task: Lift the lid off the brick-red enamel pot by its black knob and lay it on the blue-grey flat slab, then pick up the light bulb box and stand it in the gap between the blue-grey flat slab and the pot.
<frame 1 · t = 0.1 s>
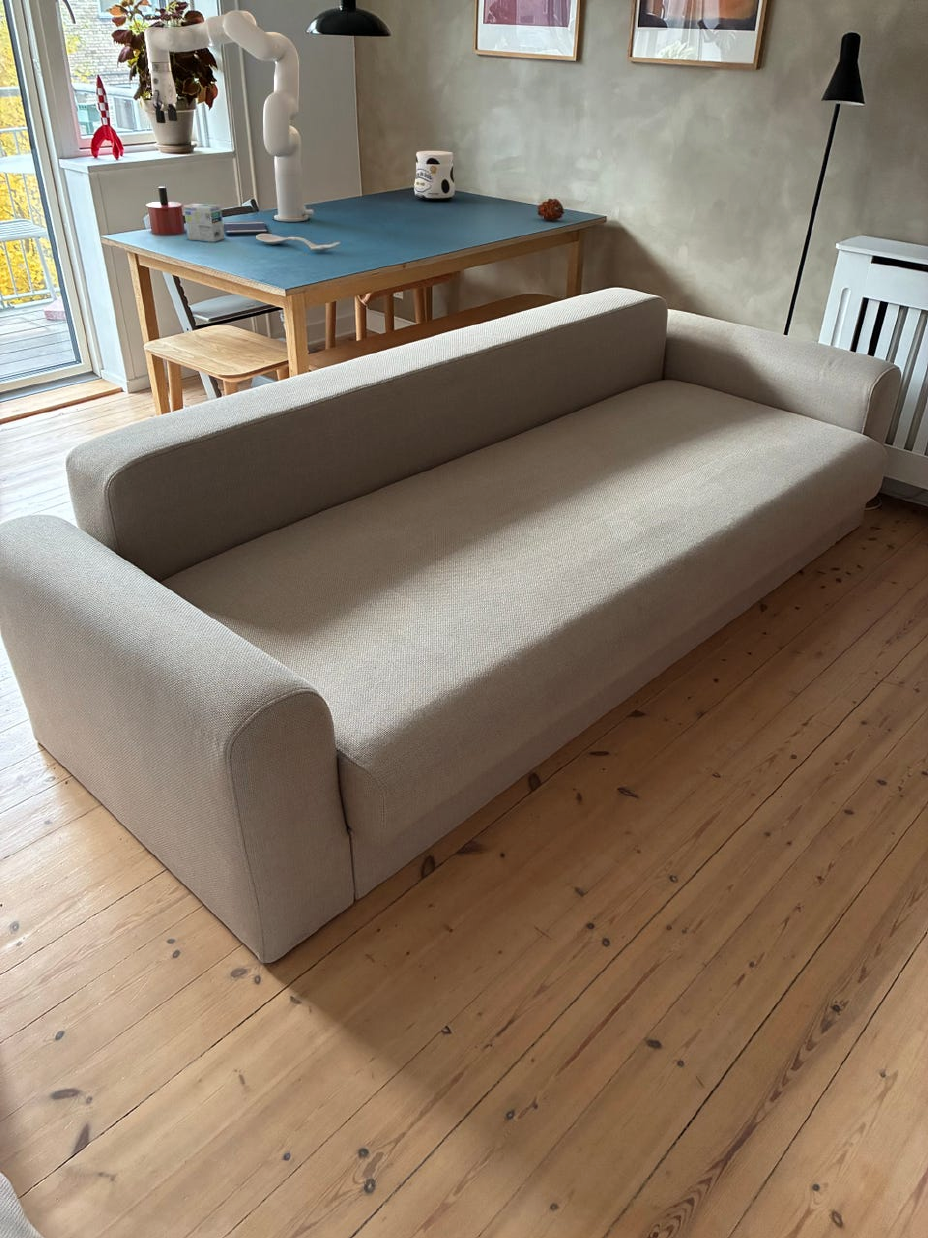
hand: (167, 121, 346), 31 cm above the table, tool pointing down, fingers open, 9 cm apart
milk container: (434, 199, 402), on the table
pot: (168, 232, 331), on the table
blue-grey flat slab: (245, 229, 337), on the table
pot lid: (164, 205, 327), point 8 cm above the table, touching pot
light bulb box: (206, 239, 322), on the table
spoon: (295, 248, 312), on the table
red-brown bumpy ovoid: (549, 220, 365), on the table
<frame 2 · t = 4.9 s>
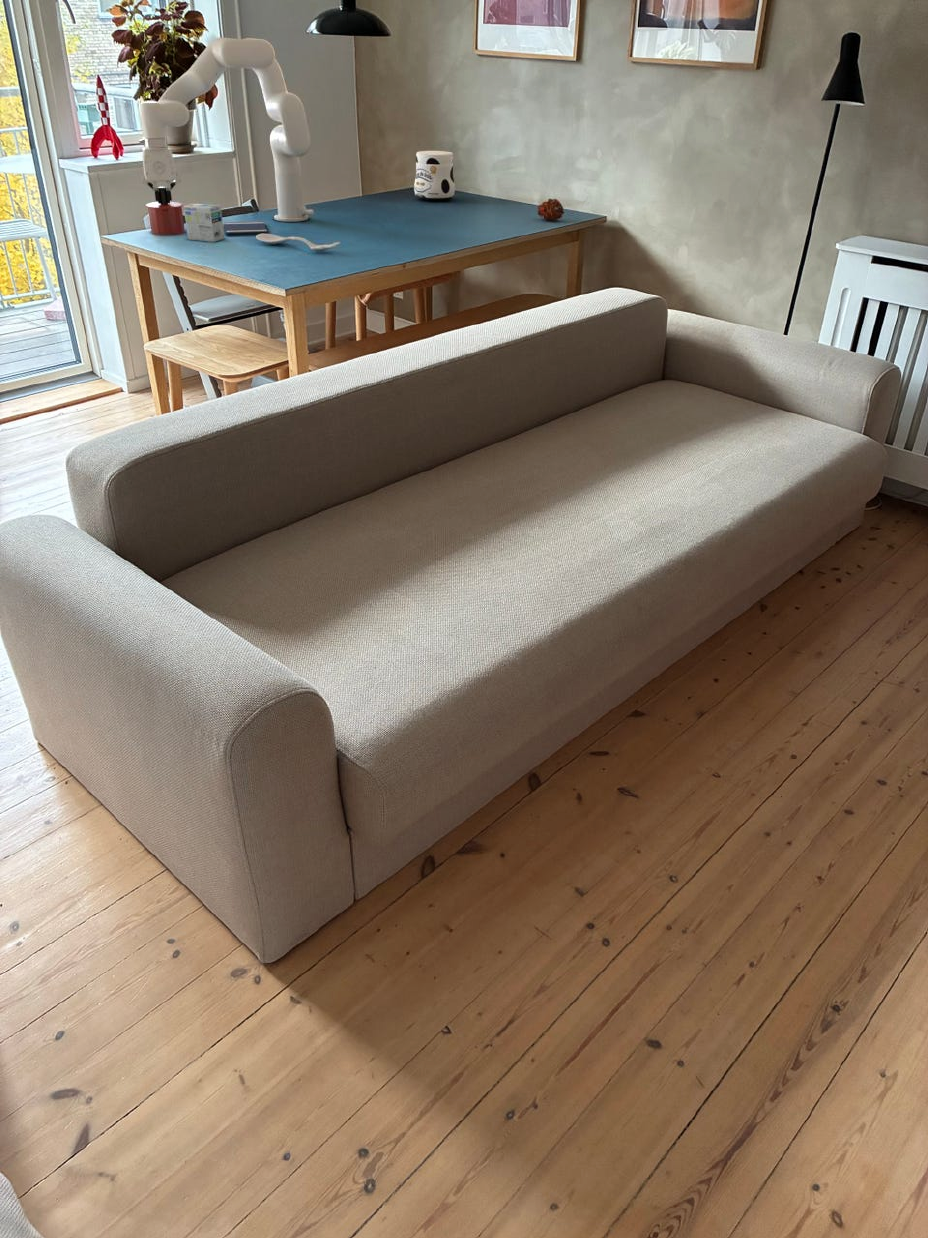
hand: (164, 202, 326), 10 cm above the table, tool pointing down, fingers closed on pot lid, 2 cm apart
pot lid: (164, 205, 327), point 9 cm above the table, touching gripper, pot
everything else where it was.
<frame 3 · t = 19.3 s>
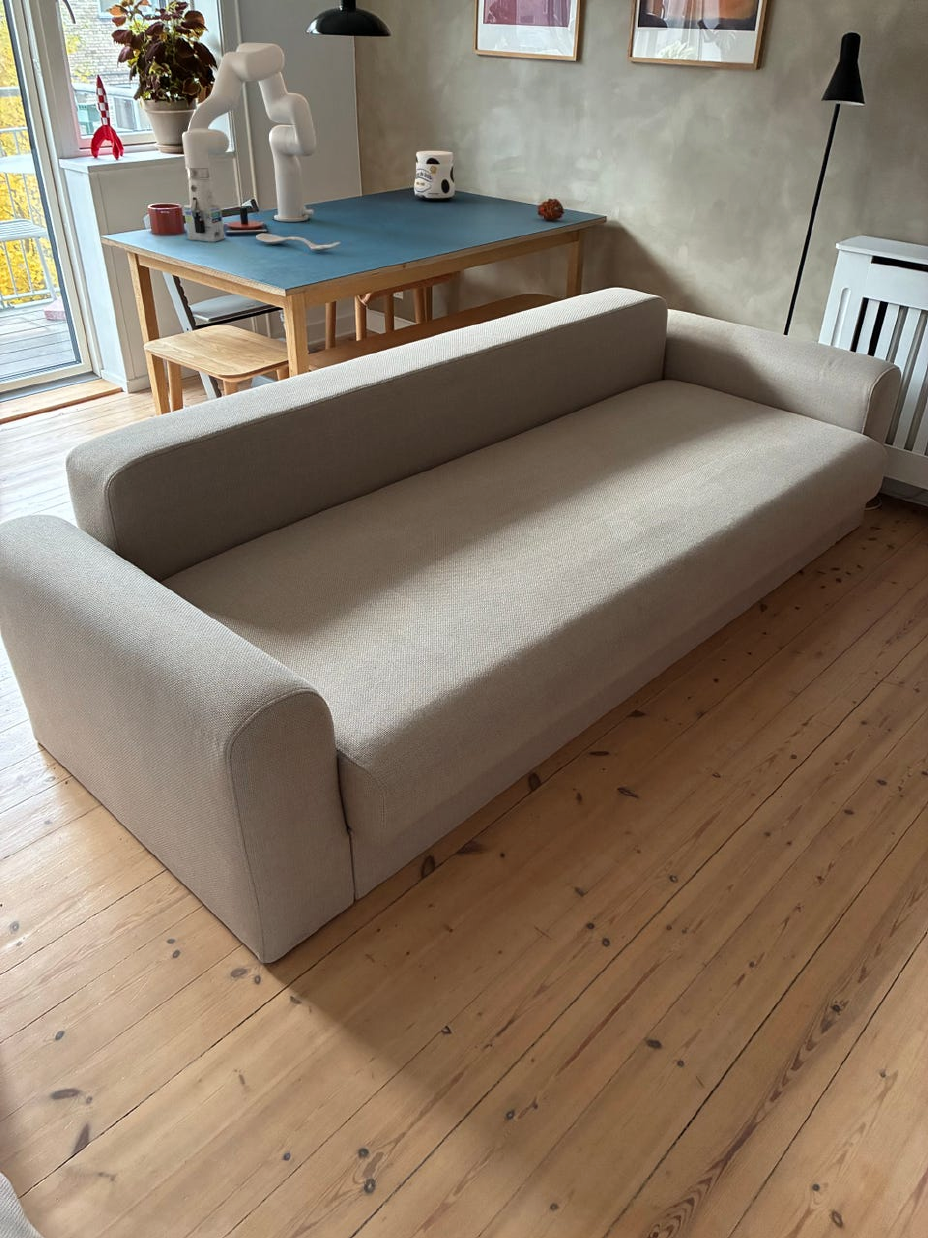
hand: (205, 230, 320), 3 cm above the table, tool pointing down, fingers closed on light bulb box, 7 cm apart
pot lid: (244, 225, 336), point 2 cm above the table, touching blue-grey flat slab
light bulb box: (206, 239, 322), on the table, touching gripper
everything else where it was.
when the fingers open (3 cm above the table, at t = 26.8 s): light bulb box stays where it is, on the table.
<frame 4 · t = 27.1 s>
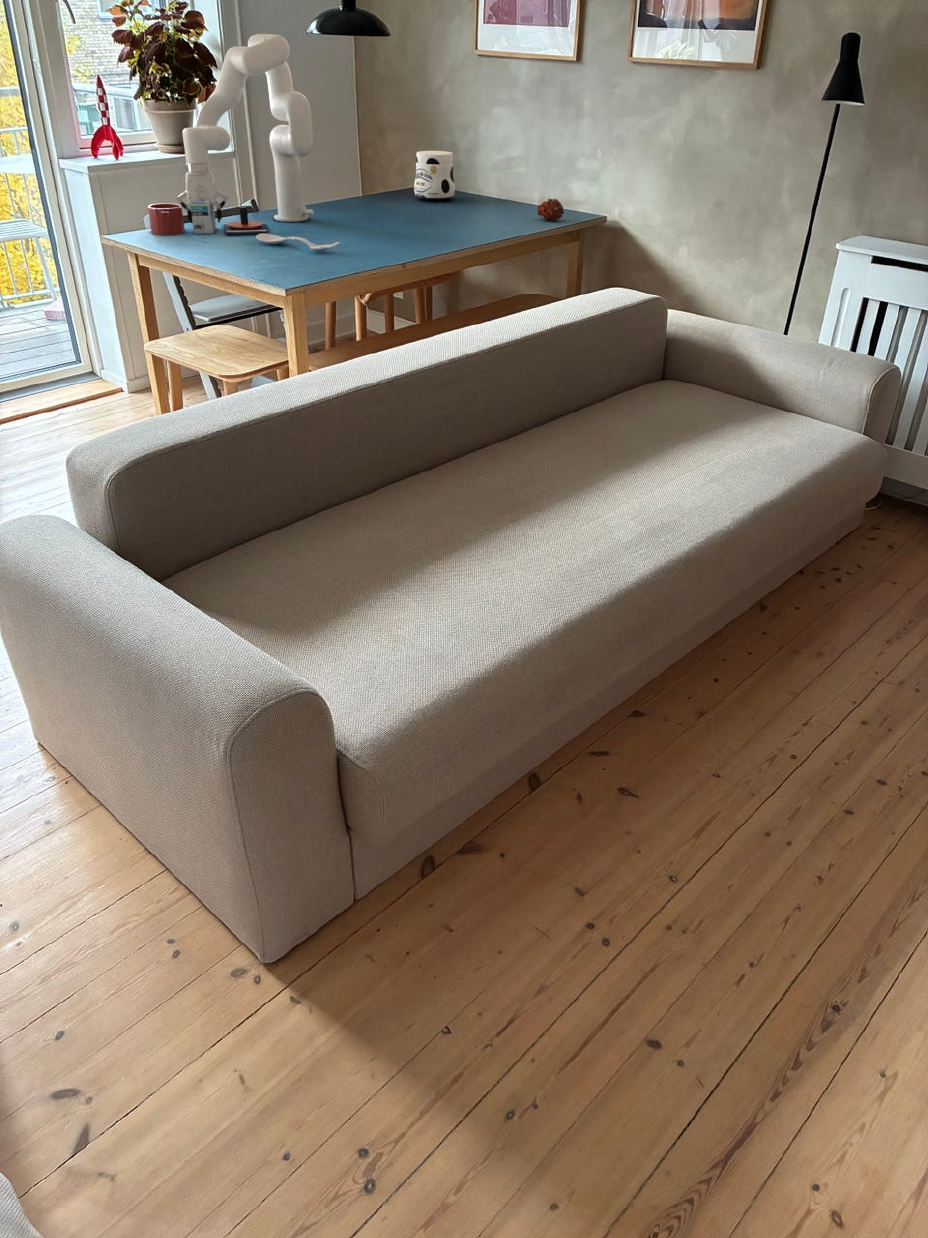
hand: (205, 221, 332), 3 cm above the table, tool pointing down, fingers open, 9 cm apart
light bulb box: (205, 231, 334), on the table
everything else where it was.
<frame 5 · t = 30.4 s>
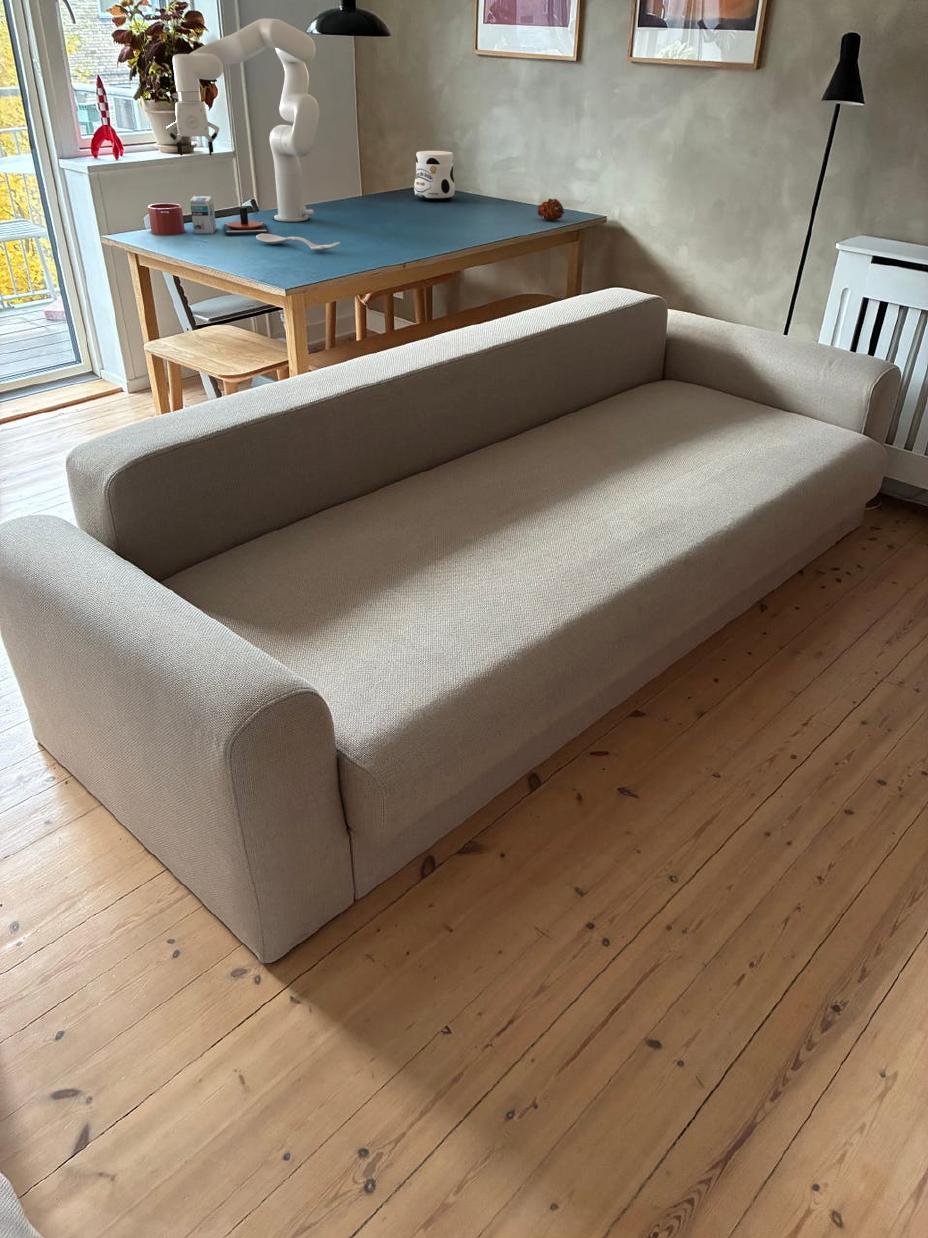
hand: (196, 154, 321), 24 cm above the table, tool pointing down, fingers open, 9 cm apart
nothing on the table moved.
at the end: pot lid inside the target area on the blue-grey flat slab (0.2 cm from its centre), point 1.6 cm above the blue-grey flat slab's base; light bulb box 0.0 cm from the target spot, on the table; light bulb box tilted 0° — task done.
